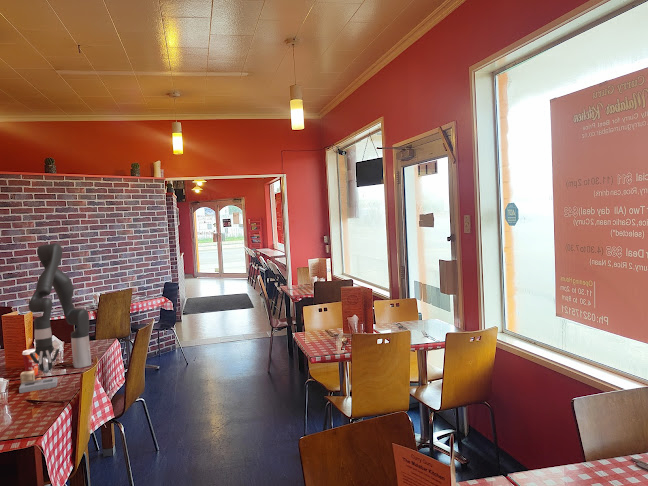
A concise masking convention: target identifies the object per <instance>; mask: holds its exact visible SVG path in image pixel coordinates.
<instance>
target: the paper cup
mask: <svg viewBox="0 0 648 486" xmlns="http://www.w3.org/2000/svg"><path fill="white" fill-rule="evenodd" d="M35 349H36V348H30V349H26V350H23V351H22V353H21V355H22V357H23V364H24V372H26V371H32V370H34V374H35V377H36V376H38V375H39V364H35V362H34V361H33V359H32V358H31V356H30V353H31V352H34V351H35ZM35 357H36V359H37V360H38V361H39V359H38V358H39V355H37V354H36V353H35Z"/></svg>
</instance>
